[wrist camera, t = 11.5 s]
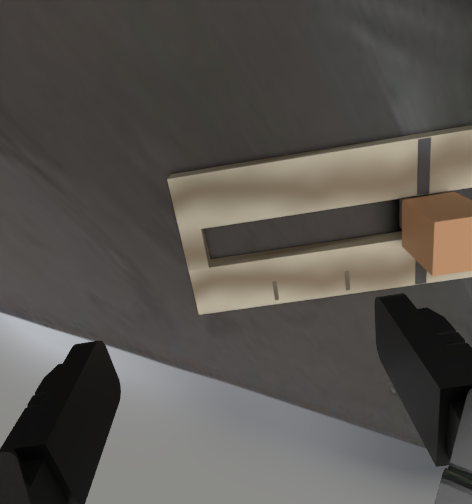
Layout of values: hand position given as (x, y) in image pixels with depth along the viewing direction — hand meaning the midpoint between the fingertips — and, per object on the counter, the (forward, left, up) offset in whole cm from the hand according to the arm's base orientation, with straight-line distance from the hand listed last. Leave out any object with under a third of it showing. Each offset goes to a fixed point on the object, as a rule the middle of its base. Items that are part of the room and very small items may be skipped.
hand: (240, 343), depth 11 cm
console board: (+7, +9, -26) cm, 28 cm away
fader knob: (+7, +16, -26) cm, 31 cm away
